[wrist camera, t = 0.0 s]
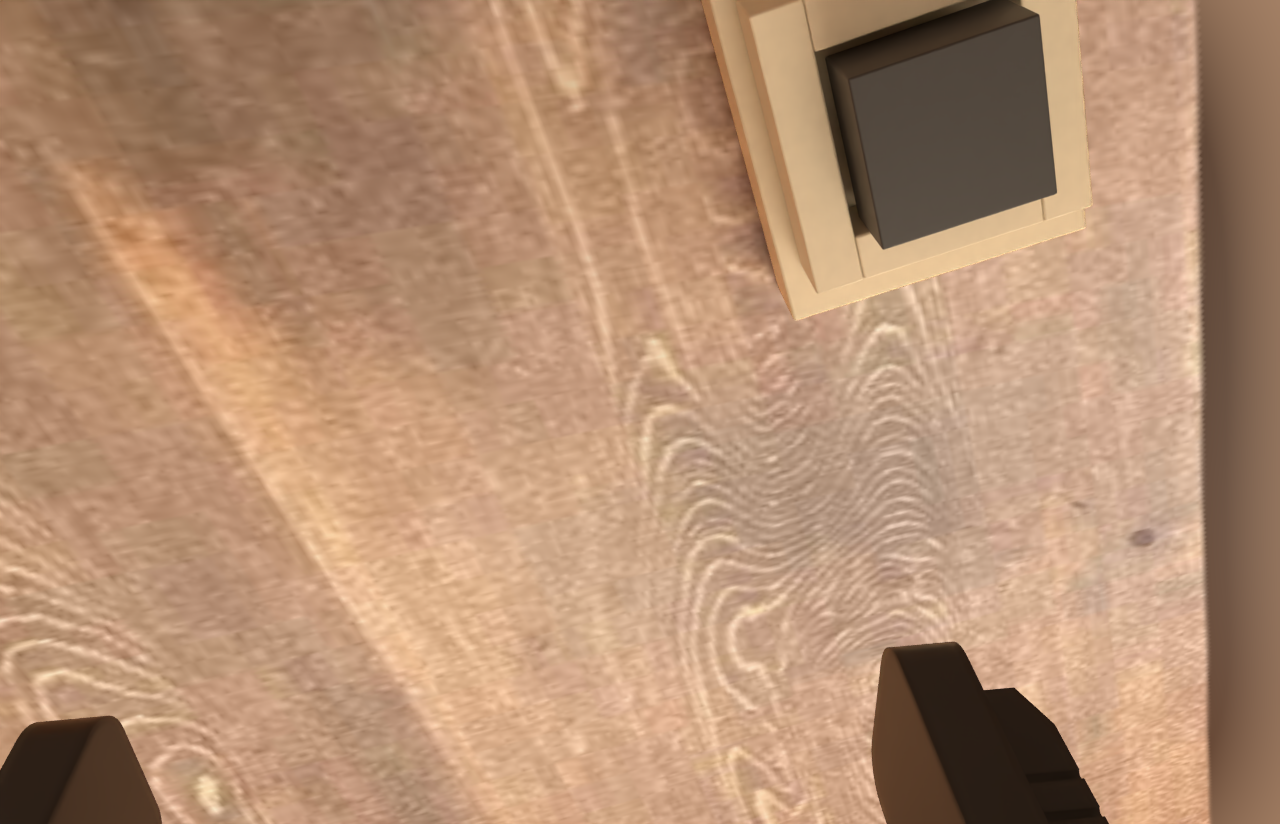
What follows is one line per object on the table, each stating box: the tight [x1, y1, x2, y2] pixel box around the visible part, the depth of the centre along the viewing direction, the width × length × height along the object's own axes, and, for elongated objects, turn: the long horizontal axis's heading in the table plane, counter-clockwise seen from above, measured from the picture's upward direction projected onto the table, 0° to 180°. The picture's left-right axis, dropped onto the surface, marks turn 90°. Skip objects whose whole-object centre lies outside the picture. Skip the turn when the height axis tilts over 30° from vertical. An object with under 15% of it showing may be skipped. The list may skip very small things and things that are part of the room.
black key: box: [825, 0, 1057, 250], centre depth 23 cm, size 4×4×2 cm
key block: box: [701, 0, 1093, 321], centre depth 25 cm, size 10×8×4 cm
